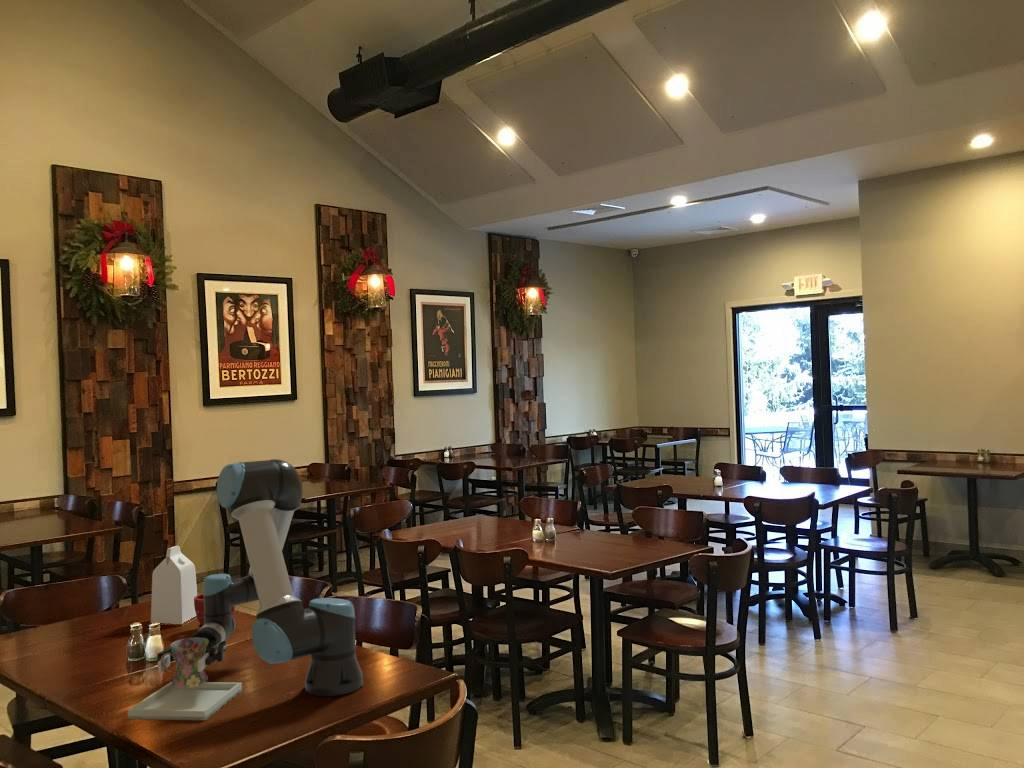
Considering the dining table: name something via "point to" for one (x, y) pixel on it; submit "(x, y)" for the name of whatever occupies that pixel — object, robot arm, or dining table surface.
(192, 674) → the mug
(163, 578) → the milk
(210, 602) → the robot arm
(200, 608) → the plant pot
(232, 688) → the tray
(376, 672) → the dining table surface
